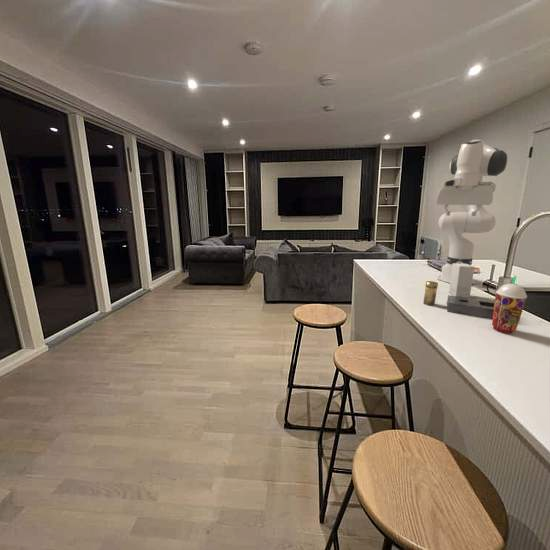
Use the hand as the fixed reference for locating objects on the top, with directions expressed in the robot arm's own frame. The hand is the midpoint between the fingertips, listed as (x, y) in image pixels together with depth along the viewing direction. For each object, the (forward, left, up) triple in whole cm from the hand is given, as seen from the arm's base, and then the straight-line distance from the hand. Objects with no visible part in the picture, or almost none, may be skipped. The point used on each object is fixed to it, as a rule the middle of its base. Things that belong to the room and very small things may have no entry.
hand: (460, 215), depth 122 cm
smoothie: (+28, +17, -39) cm, 51 cm away
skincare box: (-9, +5, -39) cm, 40 cm away
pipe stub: (+11, -7, -39) cm, 41 cm away
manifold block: (+12, +10, -39) cm, 41 cm away
